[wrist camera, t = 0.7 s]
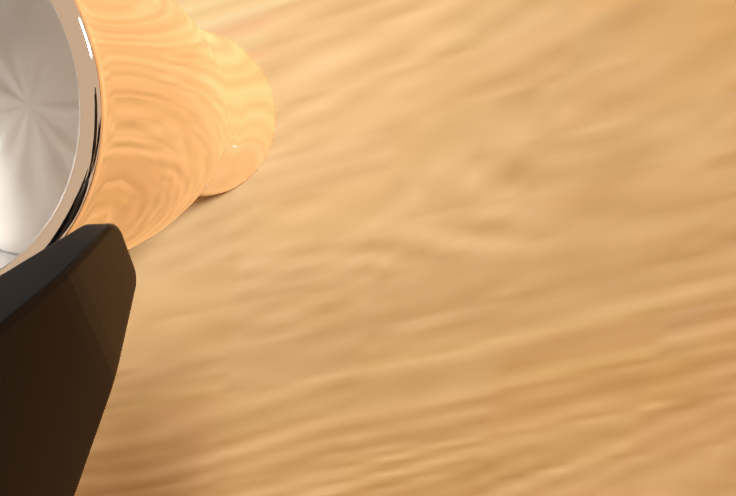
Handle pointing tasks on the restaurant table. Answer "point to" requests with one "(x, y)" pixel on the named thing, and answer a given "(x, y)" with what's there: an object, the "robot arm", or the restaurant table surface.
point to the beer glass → (118, 119)
